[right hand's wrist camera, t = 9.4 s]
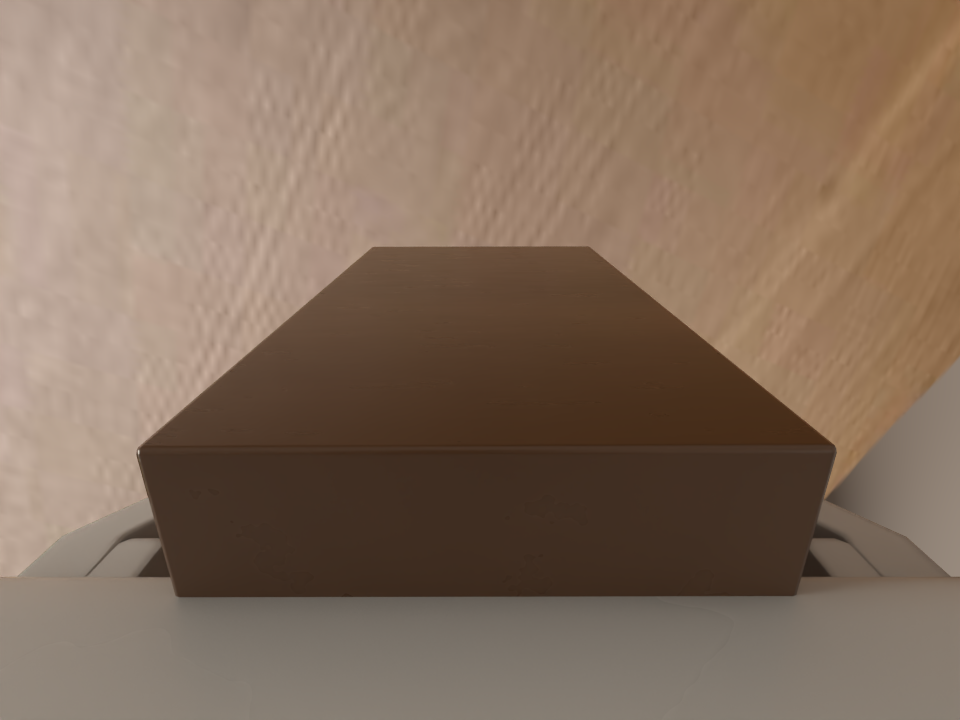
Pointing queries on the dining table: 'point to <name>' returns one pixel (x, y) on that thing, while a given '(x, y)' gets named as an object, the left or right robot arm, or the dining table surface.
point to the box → (485, 445)
